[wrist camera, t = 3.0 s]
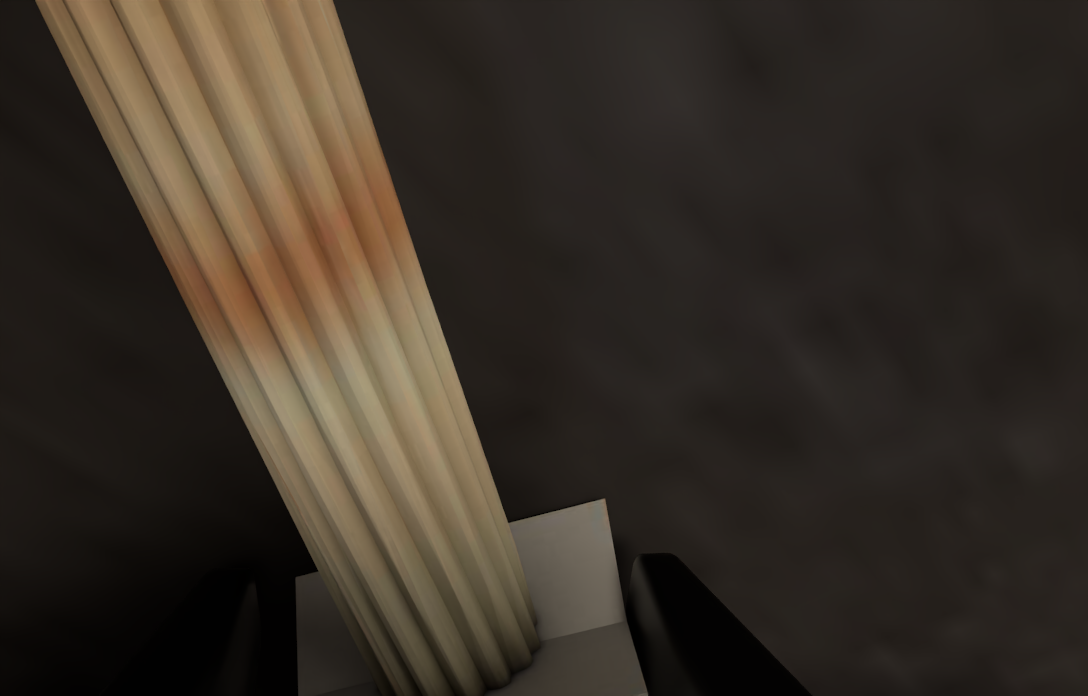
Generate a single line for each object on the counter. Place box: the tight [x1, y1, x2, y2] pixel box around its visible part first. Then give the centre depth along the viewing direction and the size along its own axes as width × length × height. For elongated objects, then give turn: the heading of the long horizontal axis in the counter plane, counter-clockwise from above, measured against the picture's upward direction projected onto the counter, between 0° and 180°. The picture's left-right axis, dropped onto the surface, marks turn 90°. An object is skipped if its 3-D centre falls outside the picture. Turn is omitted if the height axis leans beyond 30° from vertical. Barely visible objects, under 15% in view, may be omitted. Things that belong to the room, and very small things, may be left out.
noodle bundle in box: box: [35, 0, 648, 696], centre depth 9 cm, size 4×3×20 cm
